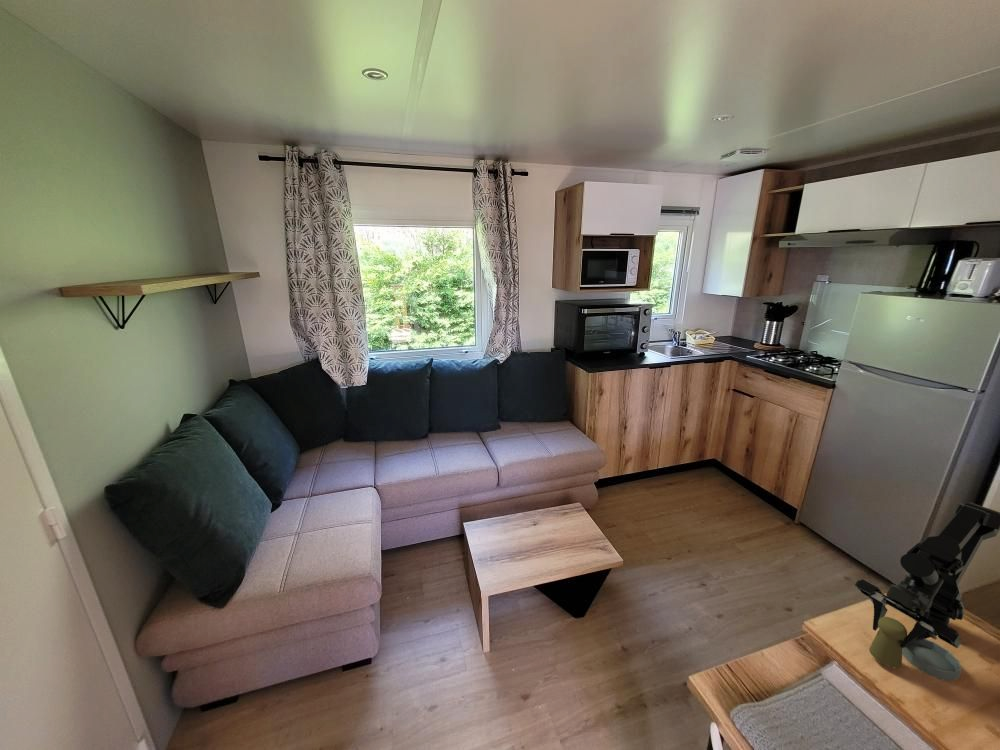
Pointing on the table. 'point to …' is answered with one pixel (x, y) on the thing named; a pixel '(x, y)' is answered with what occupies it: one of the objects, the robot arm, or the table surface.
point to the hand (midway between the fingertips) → (887, 638)
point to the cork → (888, 642)
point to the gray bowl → (933, 660)
